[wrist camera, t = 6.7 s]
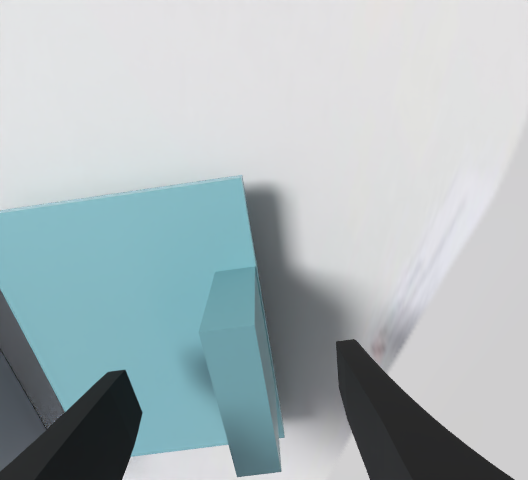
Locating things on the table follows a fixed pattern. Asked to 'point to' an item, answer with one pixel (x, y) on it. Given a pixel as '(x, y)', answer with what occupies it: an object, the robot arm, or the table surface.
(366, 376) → the robot arm
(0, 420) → the parts tub
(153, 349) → the lid
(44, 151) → the table surface
